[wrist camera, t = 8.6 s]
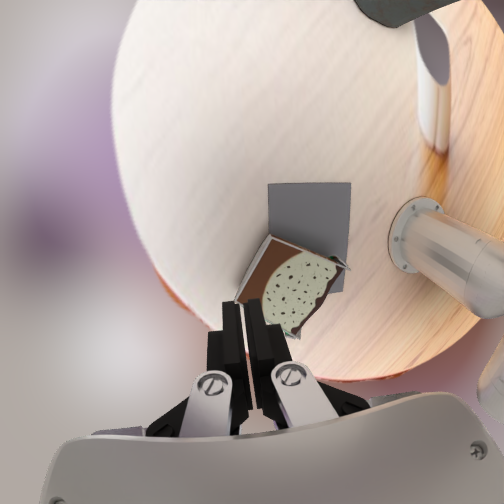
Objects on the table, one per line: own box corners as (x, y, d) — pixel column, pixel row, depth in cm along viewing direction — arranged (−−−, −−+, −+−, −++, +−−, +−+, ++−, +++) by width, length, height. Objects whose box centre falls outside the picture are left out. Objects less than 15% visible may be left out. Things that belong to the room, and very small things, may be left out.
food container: (236, 287, 39) (296, 317, 40) (228, 310, 33) (298, 342, 34) (278, 212, 34) (343, 248, 35) (277, 224, 29) (353, 266, 29)
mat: (349, 182, 33) (351, 183, 33) (341, 290, 39) (342, 291, 39) (267, 184, 32) (268, 184, 32) (270, 299, 38) (270, 300, 38)
